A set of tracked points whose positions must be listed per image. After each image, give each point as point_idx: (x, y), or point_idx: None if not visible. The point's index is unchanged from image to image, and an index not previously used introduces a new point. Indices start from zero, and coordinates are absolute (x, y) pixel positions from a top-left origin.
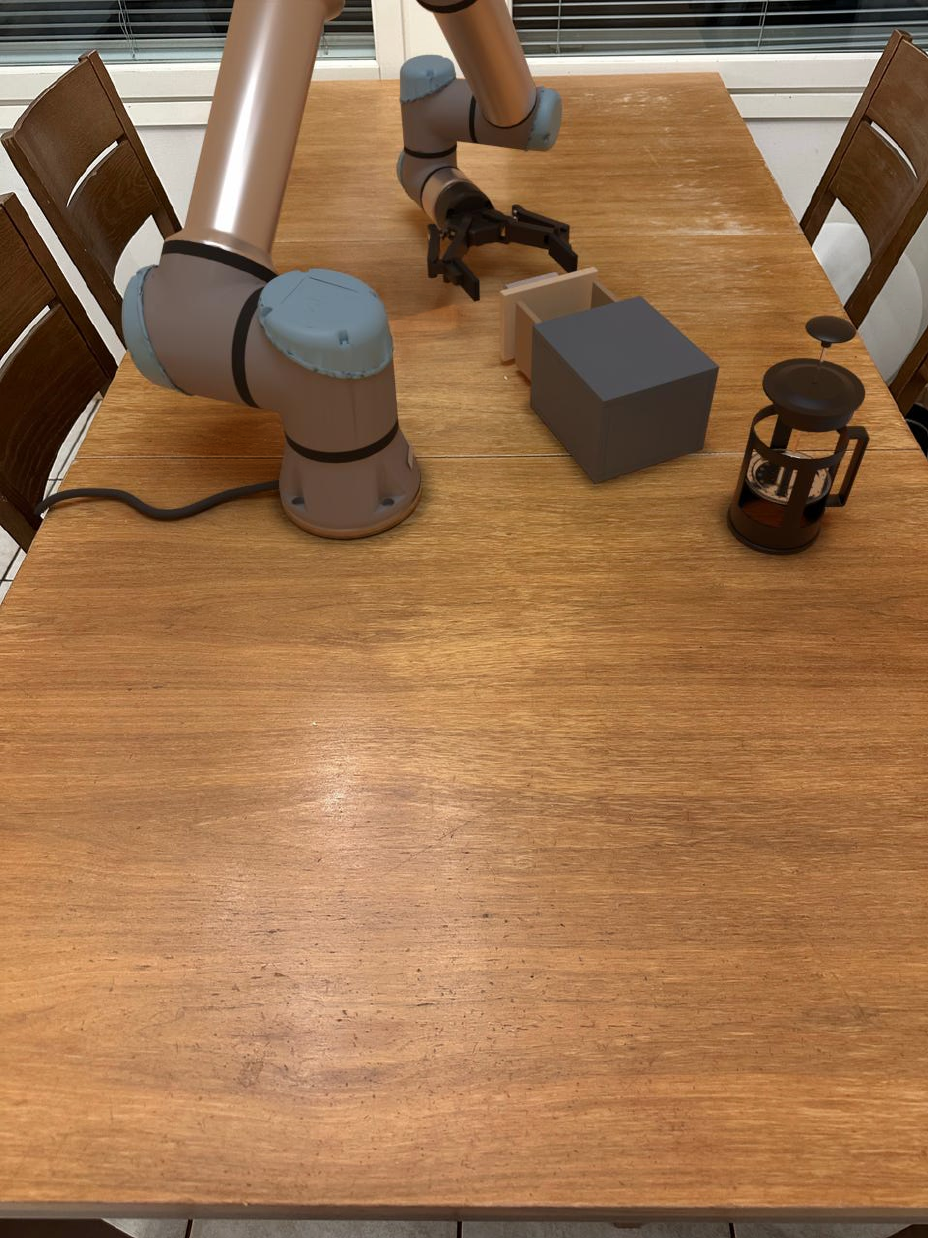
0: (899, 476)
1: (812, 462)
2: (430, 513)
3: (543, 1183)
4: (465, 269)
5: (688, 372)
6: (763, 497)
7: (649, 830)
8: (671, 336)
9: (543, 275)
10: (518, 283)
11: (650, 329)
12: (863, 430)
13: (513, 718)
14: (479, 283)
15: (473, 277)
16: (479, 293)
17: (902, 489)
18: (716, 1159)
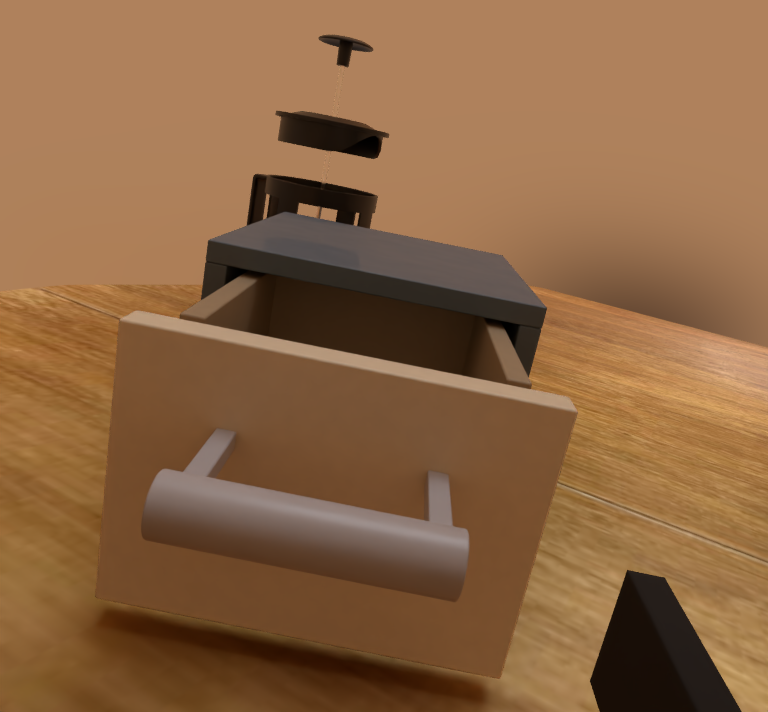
0: (104, 290)
1: (348, 191)
2: (754, 494)
3: (680, 325)
4: (715, 692)
5: (339, 223)
6: None
7: (581, 329)
8: (285, 226)
9: (240, 488)
10: (399, 517)
11: (303, 235)
12: (263, 174)
13: (662, 372)
14: (622, 587)
15: (661, 604)
16: (604, 643)
17: (126, 289)
18: (604, 306)
